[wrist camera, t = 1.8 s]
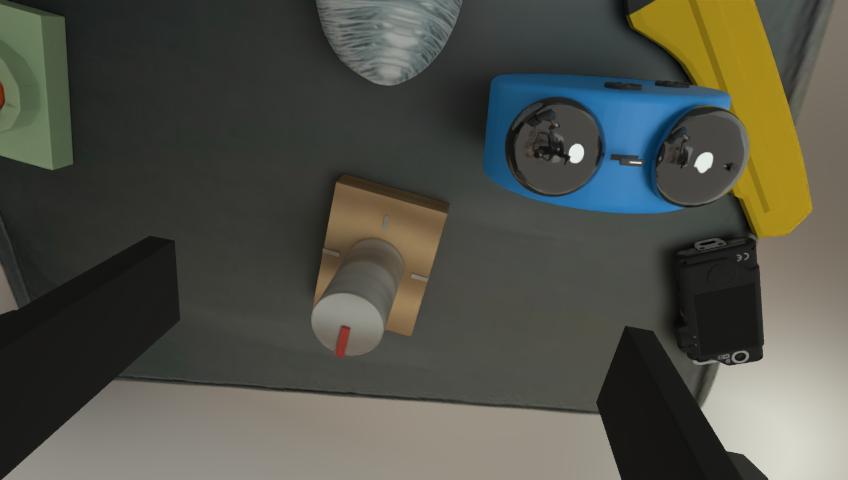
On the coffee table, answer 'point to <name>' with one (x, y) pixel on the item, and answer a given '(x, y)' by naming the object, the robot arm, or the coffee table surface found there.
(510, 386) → the coffee table surface
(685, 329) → the camera
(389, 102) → the coffee table surface
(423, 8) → the spool
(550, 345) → the coffee table surface
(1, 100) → the button
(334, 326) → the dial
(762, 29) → the utility knife
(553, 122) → the alarm clock
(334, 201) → the panel
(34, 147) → the button block
